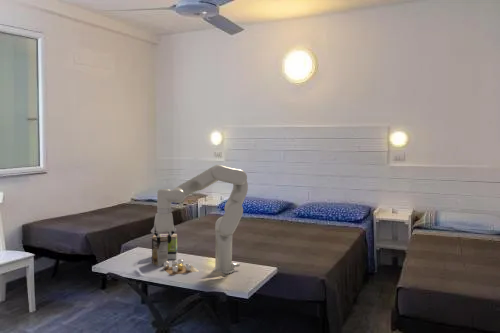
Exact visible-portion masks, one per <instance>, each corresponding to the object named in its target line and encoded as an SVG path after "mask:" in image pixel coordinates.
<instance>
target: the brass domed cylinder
mask: <svg viewBox="0 0 500 333" xmlns="http://www.w3.org/2000/svg"><path fill="white" fill-rule="evenodd" d="M175 265H178V271H182V270H183V264H178V263H177V264H175Z"/></svg>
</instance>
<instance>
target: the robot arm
mask: <svg viewBox="0 0 500 333" xmlns="http://www.w3.org/2000/svg"><path fill="white" fill-rule="evenodd" d="M218 181H219V182H223V183H228V184H232V186H233V187H232V190H231V192H230V195H229V197H228V199H227V201H226V202H225V205H224V208H223V209H224V214H223V216H220V217H218V219H217V220H216V221H215V225H214V226H215V228H214V229H215V254H214V255H215V257H214V258H215V260H214V261H215V262H214V263H215V264H214V265H215V267H213V268H212V271H214V272H216V273H222V274H223V275H227V274H228V275H230V274H232V272H233V273H234V272H235V268H239V267H240V266H241V265H240V263H236V262H233V261H232V260H233V234H234V233H235V231H236V230H237V227H238V225H239V223H240V222H241V219H242V217H243V214H244V208H243V204H244V202H245V199H246V197H247V194H248V191H249V189H248V188H249V183H248V174H247V173H246V172H245V171H244V170H242V169H240V168H232V167H230V166H229V167H228V166H225V165H221V164H215V165H213V166H212V167H209V168H208V169H206V170H204V171H202V172H201V173H199V174H197V175H196V176H194V177H192V178H190V179H189V180H187V181H184V182H183V183H181V184H179V185H178V186H176V187H174V188H173V189H169V188H159V189H158V190H157V199H156V200H157V201H156V203H157V205H156V206H157V209H156V212H157V213H155V217H154V223H153V224H154V225H153V227H152V229H151V230H150V232H151V234H153V235H155V236H157V243H158V244H160V234H162V233H163V232H164V233H166V232H167V234H168V243H169V244H170V242H171V236H172V235H173V234H175V232H177V230H178V228H176V226H175V225H174V217H173V213H172V212H174V208H172V203H176V204H178V203H182V202H184V200H185V199H186V197H187V196H189V195H191V194H194V193H195V192H198V191H203V190H205V189H206V188H208V187H210V186H211V185H213V184H215V183H216V182H217V183H218ZM229 273H230V274H229Z"/></svg>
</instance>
